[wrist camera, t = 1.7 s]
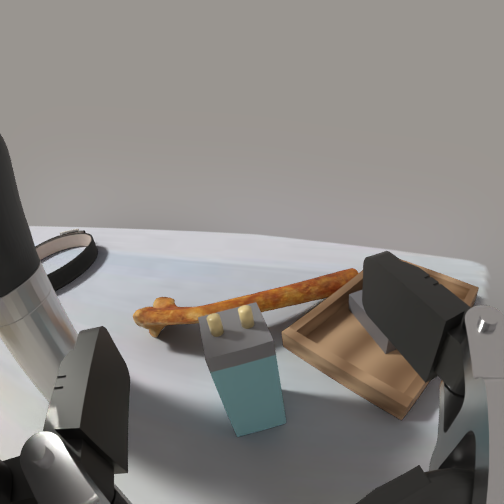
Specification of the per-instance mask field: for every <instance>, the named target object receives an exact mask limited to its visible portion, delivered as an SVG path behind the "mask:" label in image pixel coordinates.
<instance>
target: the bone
mask: <svg viewBox="0 0 504 504" xmlns="http://www.w3.org/2000/svg"><path fill="white" fill-rule="evenodd" d="M358 274H359V273H358V272H357V270H355V269H353V268H351V269H347V270H343V271H339V272H336V273H332V274H328V275H324V276H320V277H317V278H313V279H310V280H306V281H302V282H298V283H294V284H291V285H287V286H283V287H279V288H275V289H271V290H267V291H262V292H258V293H255V294H251V295H246V296H242V297H237V298H233V299H229V300H225V301H221V302H217V303H213V304H208V305H203V306H198V307H177V306H176V305H175V303H174V299H172V298H168V297H160V298H157V299H156V300H155V301H154V304H153V307H145V308H142V309H139V310H137V311H136V312H135V313H134V314H133V319H134V321H135V323H136V324H137V325H138V326H141V327H143V328H146V329H149V333H150V334H151V335H152V336H153V337H154V338H156V337H158V335H159V333H160V332H161V330H162V329H163V328H164V327H165V326H167V325H177V324H194V323H199V320H198V317H201V316H205V315H209V314H213V313H217V312H221V311H224V310H228V309H232V308H236V307H240V306H243V305H247V304H251V303H255V302H256V303H257V305H258V307H259V309H260V312H264V311H269V310H274V309H278V308H283V307H287V306H292V305H297V304H301V303H305V302H309V301H314V300H319V299H324V298H327V297H330V296H331V295H332V294H333V293H335V292H336V291H337V290H339V289H340V288H341V287H342V286H344V285H345V284H346V283H348V282H349V281H350V280H351V279H353V278H354V277H355V276H356V275H358Z"/></svg>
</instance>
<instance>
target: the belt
mask: <svg viewBox="0 0 504 504" xmlns="http://www.w3.org/2000/svg"><path fill="white" fill-rule="evenodd" d="M65 233H66V234H65ZM62 234H63V235H62ZM81 246H87V247H86V248H85V250H84V251H83V252H82V253H80V254H79V255H78V256H77V257H76V258H74V259H73V260H72V261H70V262H69V263H67V264H66V265H64V266H63V267H61V268H59V269H57V270H56V271H54V272H52V273H50V274H48V275H47V277H48V279H49V281H50V283H51V285H52V287H53V289H54V291H56V290H58V289H60V288H62V287H63V286H65V285H67V284H68V283H70V282H71V281H73V280H74V279H76V278H77V277H79V276H80V275H81V274H82V273H83V272H85V271H86V270H87V269H88V268H89V267H90V266H91V265H92V263H93V262H94V261H95V259H96V257H97V254H98V250H97V248H96V245H95V242H94V240H93V237H92V235H90V234H88V233H85V231H79V229H73V230H69V231H64V232H61V233H60V236H57V237H54V238H51V239H49V240H47V241H45V242H43V243H41V244H39V245H37V246H35V248H36V251H37V254H38V256H39V258H40V260H42V259H44V258H45V257H47V256H49V255H51V254H54V253H56V252H59V251H61V250H65V249H69V248H73V247H81Z"/></svg>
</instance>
